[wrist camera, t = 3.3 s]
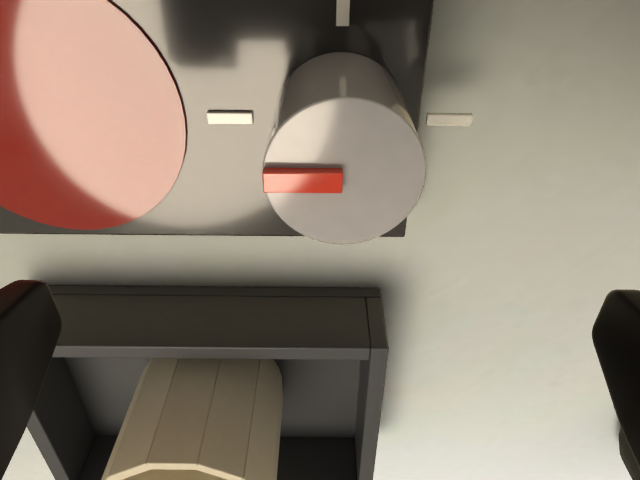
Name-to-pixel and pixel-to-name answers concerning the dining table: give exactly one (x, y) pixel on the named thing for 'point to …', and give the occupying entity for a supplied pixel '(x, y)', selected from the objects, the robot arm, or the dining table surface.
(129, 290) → the sink
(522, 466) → the dining table surface
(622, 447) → the wine bottle
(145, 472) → the pot
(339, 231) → the knob
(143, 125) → the burner
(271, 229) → the hob
